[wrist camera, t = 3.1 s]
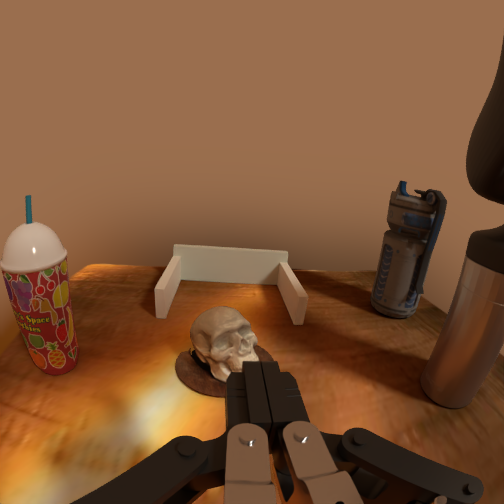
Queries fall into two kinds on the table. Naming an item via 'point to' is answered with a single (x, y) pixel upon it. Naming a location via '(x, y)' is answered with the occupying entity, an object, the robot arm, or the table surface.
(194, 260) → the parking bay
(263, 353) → the skull
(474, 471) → the table surface
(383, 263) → the beverage bottle
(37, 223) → the smoothie
